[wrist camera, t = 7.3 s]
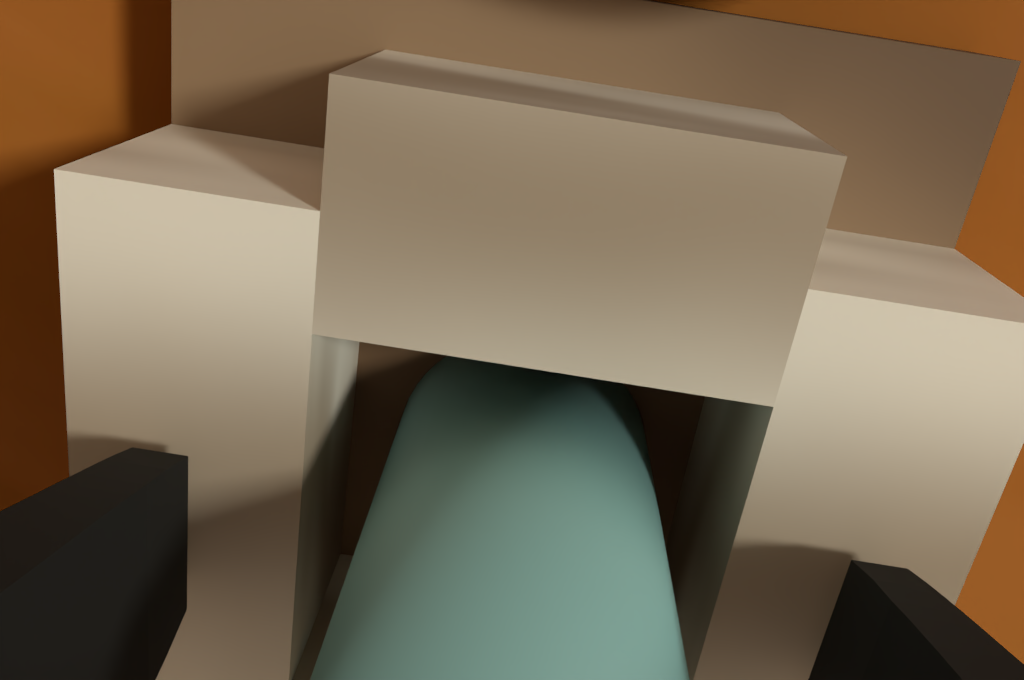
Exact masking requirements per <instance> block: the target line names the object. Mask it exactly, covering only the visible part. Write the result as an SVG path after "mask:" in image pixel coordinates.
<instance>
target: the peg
mask: <svg viewBox="0 0 1024 680" xmlns="http://www.w3.org/2000/svg"><path fill="white" fill-rule="evenodd" d="M310 680H690V678H689V673H688V667H687V662H686V656H685V651H684V645H683V640H682V634H681V629H680V623H679V618H678V612H677V607H676V602H675V596H674V591H673V585H672V580H671V574H670V569H669V563H668V558H667V552H666V547H665V541H664V536H663V531H662V525H661V520H660V514H659V509H658V503H657V498H656V492H655V487H654V481H653V476H652V470H651V465H650V460H649V454H648V449H647V443H646V438H645V432H644V427H643V423H642V419H641V415H640V413H639V410H638V408H637V405H636V403H635V401H634V399H633V397H632V396H631V394H630V392H629V391H628V389H627V387H626V386H625V385H624V384H623V383H618V382H612V381H606V380H599V379H593V378H587V377H580V376H574V375H568V374H561V373H555V372H549V371H542V370H536V369H530V368H523V367H517V366H511V365H504V364H498V363H492V362H485V361H479V360H473V359H466V358H460V357H454V356H446V357H445V358H443V359H442V360H441V361H439V362H438V363H436V364H435V365H434V366H433V367H432V368H431V369H430V370H429V371H428V372H427V373H426V374H425V375H424V376H423V378H422V379H421V380H420V382H419V383H418V384H417V385H416V387H415V389H414V390H413V392H412V394H411V396H410V397H409V399H408V402H407V404H406V407H405V409H404V412H403V415H402V418H401V421H400V423H399V426H398V429H397V432H396V435H395V438H394V441H393V443H392V446H391V449H390V452H389V455H388V458H387V461H386V463H385V466H384V469H383V472H382V475H381V478H380V481H379V484H378V486H377V489H376V492H375V495H374V498H373V501H372V504H371V506H370V509H369V512H368V515H367V518H366V521H365V524H364V526H363V529H362V532H361V535H360V538H359V541H358V544H357V547H356V549H355V552H354V555H353V558H352V561H351V564H350V567H349V569H348V572H347V575H346V578H345V581H344V584H343V587H342V590H341V592H340V595H339V598H338V601H337V604H336V607H335V610H334V612H333V615H332V618H331V621H330V624H329V627H328V630H327V632H326V635H325V638H324V641H323V644H322V647H321V650H320V653H319V655H318V658H317V661H316V664H315V667H314V670H313V673H312V675H311V678H310Z"/></svg>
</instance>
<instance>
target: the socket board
mask: <svg viewBox="0 0 1024 680" xmlns="http://www.w3.org/2000/svg"><path fill="white" fill-rule="evenodd" d="M1020 62H1021V61H1016V60H1011V59H1006V58H1000V57H995V56H990V55H985V54H979V53H974V52H968V51H961V50H955V49H949V48H943V47H937V46H930V45H924V44H918V43H912V42H906V41H899V40H893V39H887V38H881V37H875V36H868V35H862V34H856V33H850V32H844V31H837V30H831V29H825V28H819V27H813V26H806V25H800V24H794V23H788V22H782V21H775V20H769V19H763V18H757V17H751V16H744V15H738V14H732V13H726V12H720V11H713V10H707V9H701V8H695V7H689V6H682V5H676V4H670V3H664V2H658V1H651V0H171V124H170V125H168V126H165V127H162V128H160V129H157V130H155V131H152V132H149V133H147V134H144V135H141V136H139V137H136V138H134V139H131V140H128V141H126V142H123V143H121V144H118V145H115V146H113V147H110V148H108V149H105V150H102V151H100V152H97V153H94V154H92V155H89V156H87V157H84V158H81V159H79V160H76V161H74V162H71V163H68V164H66V165H63V166H61V167H58V168H55V169H54V183H55V203H56V223H57V242H58V262H59V282H60V301H61V321H62V341H63V360H64V380H65V400H66V419H67V439H68V459H69V477H70V476H72V475H74V474H76V473H78V472H80V471H82V470H84V469H86V468H88V467H90V466H92V465H94V464H96V463H98V462H100V461H102V460H104V459H106V458H109V457H111V456H113V455H115V454H117V453H120V452H122V451H125V450H127V449H129V448H132V447H134V448H140V449H147V450H153V451H159V452H166V453H172V454H178V455H185V456H188V549H187V610H186V613H185V615H184V617H183V619H182V622H181V624H180V626H179V629H178V631H177V633H176V636H175V638H174V640H173V642H172V645H171V647H170V649H169V652H168V654H167V656H166V658H165V661H164V663H163V665H162V667H161V669H160V671H159V673H158V676H157V678H156V680H310V678H311V675H312V673H313V670H314V667H315V664H316V661H317V658H318V655H319V653H320V650H321V647H322V644H323V641H324V638H325V635H326V632H327V630H328V627H329V624H330V621H331V618H332V615H333V612H334V610H335V607H336V604H337V601H338V598H339V595H340V592H341V590H342V587H343V584H344V581H345V578H346V575H347V572H348V569H349V567H350V564H351V561H352V558H353V555H354V552H355V549H356V547H357V544H358V541H359V538H360V535H361V532H362V529H363V526H364V524H365V521H366V518H367V515H368V512H369V509H370V506H371V504H372V501H373V498H374V495H375V492H376V489H377V486H378V484H379V481H380V478H381V475H382V472H383V469H384V466H385V463H386V461H387V458H388V455H389V452H390V449H391V446H392V443H393V441H394V438H395V435H396V432H397V429H398V426H399V423H400V421H401V418H402V415H403V412H404V409H405V407H406V404H407V402H408V399H409V397H410V396H411V394H412V392H413V390H414V389H415V387H416V385H417V384H418V383H419V382H420V380H421V379H422V378H423V376H424V375H425V374H426V373H427V372H428V371H429V370H430V369H431V368H432V367H433V366H434V365H435V364H436V363H438V362H439V361H441V360H442V359H443V358H445V357H446V356H454V357H460V358H466V359H473V360H479V361H485V362H492V363H498V364H504V365H511V366H517V367H523V368H530V369H536V370H542V371H549V372H555V373H561V374H568V375H574V376H580V377H587V378H593V379H599V380H606V381H612V382H618V383H623V384H624V385H625V386H626V387H627V389H628V391H629V392H630V394H631V396H632V397H633V399H634V401H635V403H636V405H637V408H638V410H639V413H640V415H641V419H642V423H643V427H644V432H645V438H646V443H647V449H648V454H649V460H650V465H651V470H652V476H653V481H654V487H655V492H656V498H657V503H658V509H659V514H660V520H661V525H662V531H663V536H664V541H665V547H666V552H667V558H668V563H669V569H670V574H671V580H672V585H673V591H674V596H675V602H676V607H677V612H678V618H679V623H680V629H681V634H682V640H683V645H684V651H685V656H686V662H687V667H688V673H689V678H690V680H808V679H809V676H810V674H811V671H812V668H813V665H814V662H815V660H816V657H817V654H818V651H819V648H820V646H821V643H822V640H823V637H824V635H825V632H826V629H827V626H828V623H829V621H830V618H831V615H832V612H833V609H834V607H835V604H836V601H837V598H838V596H839V593H840V590H841V587H842V584H843V582H844V579H845V576H846V573H847V570H848V568H849V565H850V562H851V560H856V561H862V562H869V563H875V564H882V565H888V566H894V567H901V568H907V569H909V570H910V571H912V572H913V573H914V574H916V575H917V576H918V577H920V578H921V579H922V580H924V581H925V582H926V583H928V584H929V585H930V586H932V587H933V588H934V589H935V590H937V591H938V592H939V593H940V594H941V595H943V596H944V597H945V598H946V599H948V600H949V601H950V602H951V603H952V604H954V605H955V603H956V601H957V599H958V596H959V594H960V592H961V589H962V587H963V584H964V582H965V580H966V577H967V575H968V573H969V570H970V568H971V566H972V563H973V561H974V558H975V556H976V554H977V551H978V549H979V547H980V544H981V542H982V540H983V537H984V535H985V532H986V530H987V528H988V525H989V523H990V521H991V518H992V516H993V514H994V511H995V509H996V507H997V504H998V502H999V499H1000V497H1001V495H1002V492H1003V490H1004V488H1005V485H1006V483H1007V481H1008V478H1009V476H1010V473H1011V471H1012V469H1013V466H1014V464H1015V462H1016V459H1017V457H1018V455H1019V452H1020V450H1021V447H1022V445H1023V443H1024V297H1022V296H1021V295H1019V294H1018V293H1016V292H1015V291H1014V290H1012V289H1011V288H1009V287H1008V286H1006V285H1005V284H1004V283H1002V282H1001V281H999V280H998V279H996V278H995V277H994V276H992V275H991V274H989V273H988V272H987V271H985V270H984V269H982V268H981V267H979V266H978V265H977V264H975V263H974V262H972V261H971V260H969V259H968V258H967V257H965V256H964V255H962V254H961V253H959V252H958V251H957V250H955V249H954V248H955V245H956V242H957V240H958V237H959V234H960V231H961V228H962V226H963V223H964V220H965V217H966V214H967V211H968V209H969V206H970V203H971V200H972V197H973V195H974V192H975V189H976V186H977V183H978V180H979V178H980V175H981V172H982V169H983V166H984V164H985V161H986V158H987V155H988V152H989V149H990V147H991V144H992V141H993V138H994V135H995V133H996V130H997V127H998V124H999V121H1000V118H1001V116H1002V113H1003V110H1004V107H1005V104H1006V102H1007V99H1008V96H1009V93H1010V90H1011V87H1012V85H1013V82H1014V79H1015V76H1016V73H1017V71H1018V68H1019V65H1020Z"/></svg>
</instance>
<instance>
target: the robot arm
mask: <svg viewBox="0 0 1024 680" xmlns="http://www.w3.org/2000/svg"><path fill="white" fill-rule="evenodd" d="M187 549H188V456H185V455H178V454H172V453H166V452H159V451H153V450H147V449H140V448H134V447H132V448H129V449H127V450H125V451H122V452H120V453H117V454H115V455H113V456H111V457H109V458H106V459H104V460H102V461H100V462H98V463H96V464H94V465H92V466H90V467H88V468H86V469H84V470H82V471H80V472H78V473H76V474H74V475H72V476H70V477H68V478H66V479H64V480H62V481H60V482H58V483H56V484H54V485H52V486H50V487H48V488H46V489H44V490H42V491H40V492H38V493H36V494H34V495H32V496H30V497H28V498H26V499H24V500H22V501H20V502H18V503H16V504H14V505H12V506H10V507H8V508H6V509H4V510H2V511H0V680H156V678H157V676H158V673H159V671H160V669H161V667H162V665H163V663H164V661H165V658H166V656H167V654H168V652H169V649H170V647H171V645H172V642H173V640H174V638H175V636H176V633H177V631H178V629H179V626H180V624H181V622H182V619H183V617H184V615H185V613H186V610H187ZM808 680H1024V664H1022V663H1021V662H1020V661H1019V660H1018V659H1017V658H1015V657H1014V656H1013V655H1012V654H1011V653H1010V652H1008V651H1007V650H1006V649H1005V648H1004V647H1003V646H1002V645H1000V644H999V643H998V642H997V641H996V640H995V639H993V638H992V637H991V636H990V635H989V634H988V633H986V632H985V631H984V630H983V629H982V628H981V627H979V626H978V625H977V624H976V623H975V622H974V621H972V620H971V619H970V618H969V617H968V616H967V615H965V614H964V613H963V612H962V611H961V610H959V609H958V608H957V607H956V606H955V605H954V604H952V603H951V602H950V601H949V600H948V599H946V598H945V597H944V596H943V595H941V594H940V593H939V592H938V591H937V590H935V589H934V588H933V587H932V586H930V585H929V584H928V583H926V582H925V581H924V580H922V579H921V578H920V577H918V576H917V575H916V574H914V573H913V572H912V571H910V570H909V569H907V568H901V567H894V566H888V565H882V564H875V563H869V562H862V561H856V560H851V562H850V565H849V568H848V570H847V573H846V576H845V579H844V582H843V584H842V587H841V590H840V593H839V596H838V598H837V601H836V604H835V607H834V609H833V612H832V615H831V618H830V621H829V623H828V626H827V629H826V632H825V635H824V637H823V640H822V643H821V646H820V648H819V651H818V654H817V657H816V660H815V662H814V665H813V668H812V671H811V674H810V676H809V679H808Z"/></svg>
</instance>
